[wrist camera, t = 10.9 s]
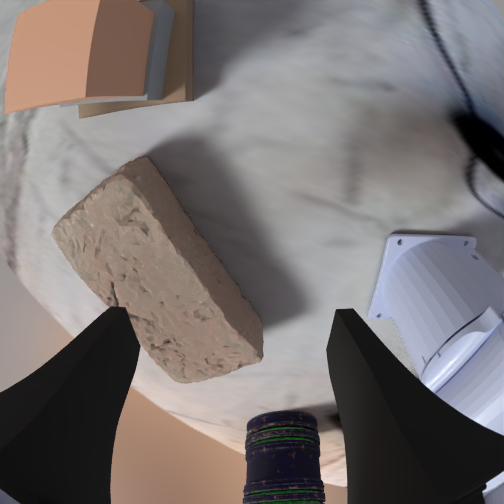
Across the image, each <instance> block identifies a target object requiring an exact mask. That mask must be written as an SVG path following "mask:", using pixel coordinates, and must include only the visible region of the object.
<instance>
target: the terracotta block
mask: <svg viewBox="0 0 504 504" xmlns="http://www.w3.org/2000/svg"><path fill="white" fill-rule="evenodd" d="M154 14H155V13H154V12H152V11H151V10H150V9H148V8H147V7H146V6H144V5H143V4H142V3H140V2H139V1H137V0H47V1H45V2H42V3H40V4H38V5H36V6H34V7H32V8H30V9H28V10H26V11H24V12H22V13H20V14H18V17H17V21H16V25H15V29H14V34H13V39H12V44H11V50H10V56H9V63H8V71H7V80H6V93H5V114H8V113H13V112H17V111H22V110H27V109H33V108H39V107H45V106H52V105H59V104H67V103H74V102H82V101H89V100H98V99H108V98H120V97H137V96H143V93H144V82H145V73H146V65H147V57H148V50H149V43H150V37H151V31H152V25H153V20H154Z"/></svg>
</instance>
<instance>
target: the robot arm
mask: <svg viewBox="0 0 504 504" xmlns="http://www.w3.org/2000/svg"><path fill="white" fill-rule="evenodd" d="M399 239H401V241H400V242H399V243H397V242H398V240H399ZM465 241H466V242H465ZM476 245H477V239H476V238H475V237H473V236H449V235H421V234H391V235H390V236H389V237H388V239H387V243H386V247H385V252H384V256H383V260H382V264H381V268H380V272H379V276H378V280H377V284H376V288H375V291H374V295H373V298H372V302H371V305H370V308H369V312H368V317H369V319H370V320H379V319H391V318H392V319H393V321H394V323H395V325H396V327H397V329H398V331H399V333H400V335H401V338H402V340H403V342H404V344H405V346H406V348H407V351H408V353H409V355H410V357H411V360H412V362H413V364H414V366H415V369H416V371H417V373H418V376H419V378H420V380H418V379H417V378H416V377H415V376H414V375H413V374H412V373H411V372H410V371H409V370H408V369H407V368H406V367H405V366H404V365H403V364H402V363H401V362H400V361H399V360H398V359H397V358H396V357H395V356H394V355H393V354H392V352H391V351H390V350H389V349H388V348H387V347H386V346H385V345H384V344H383V342H382V341H381V340H380V339H379V338H378V337H377V336H376V334H375V333H374V332H373V331H372V330H371V329H370V327H369V326H368V325H367V324H366V323H365V322H364V320H363V319H362V318H361V317H360V316H359V315H358V314H357V312H356V311H355V310H354V309H353V308H351V309H336V311H335V316H334V320H333V324H332V329H331V333H330V337H329V341H328V345H327V349H326V352H327V360H328V367H329V375H330V379H331V383H332V387H333V391H334V395H335V399H336V403H337V408H338V412H339V416H340V420H341V424H342V429H343V434H344V442H345V452H346V464H347V489H348V504H504V278H503V277H502V276H501V275H500V274H499V273H498V272H497V271H496V270H495V269H494V268H493V267H492V266H491V265H490V264H489V263H488V262H487V261H486V260H485V259H484V258H483V257H482V256H481V255H480V254H479V253H478V252H477V251H476V250H475V248H476ZM378 314H379V315H378ZM140 347H141V346H140V343H139V341H138V338H137V336H136V333H135V331H134V328H133V326H132V323H131V320H130V318H129V315H128V312H127V309H126V307H117V306H111V307H110V308H108V309H107V310H106V311H105V312H104V313H102V314H101V315H100V316H99V317H98V318H97V319H96V320H94V321H93V322H92V323H91V324H90V325H89V326H88V327H87V328H86V329H84V330H83V331H82V332H81V333H80V334H79V335H78V336H77V337H76V338H75V339H73V340H72V341H71V342H70V343H69V344H68V345H67V346H65V347H64V348H63V349H62V350H61V351H60V352H59V353H57V354H56V355H55V356H54V357H53V358H51V359H50V360H49V361H48V362H46V363H45V364H44V365H43V366H41V367H40V368H39V369H37V370H36V371H35V372H33V373H32V374H30V375H29V376H27V377H26V378H24V379H23V380H21V381H20V382H18V383H16V384H14V385H13V386H11V387H10V388H8V389H6V390H4V391H2V392H1V393H0V504H111V495H110V482H111V464H112V454H113V447H114V441H115V435H116V429H117V425H118V421H119V418H120V414H121V412H122V408H123V405H124V402H125V399H126V396H127V394H128V391H129V388H130V385H131V382H132V379H133V376H134V373H135V370H136V366H137V361H138V357H139V352H140ZM482 492H485V493H484V494H483V493H482Z"/></svg>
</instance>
